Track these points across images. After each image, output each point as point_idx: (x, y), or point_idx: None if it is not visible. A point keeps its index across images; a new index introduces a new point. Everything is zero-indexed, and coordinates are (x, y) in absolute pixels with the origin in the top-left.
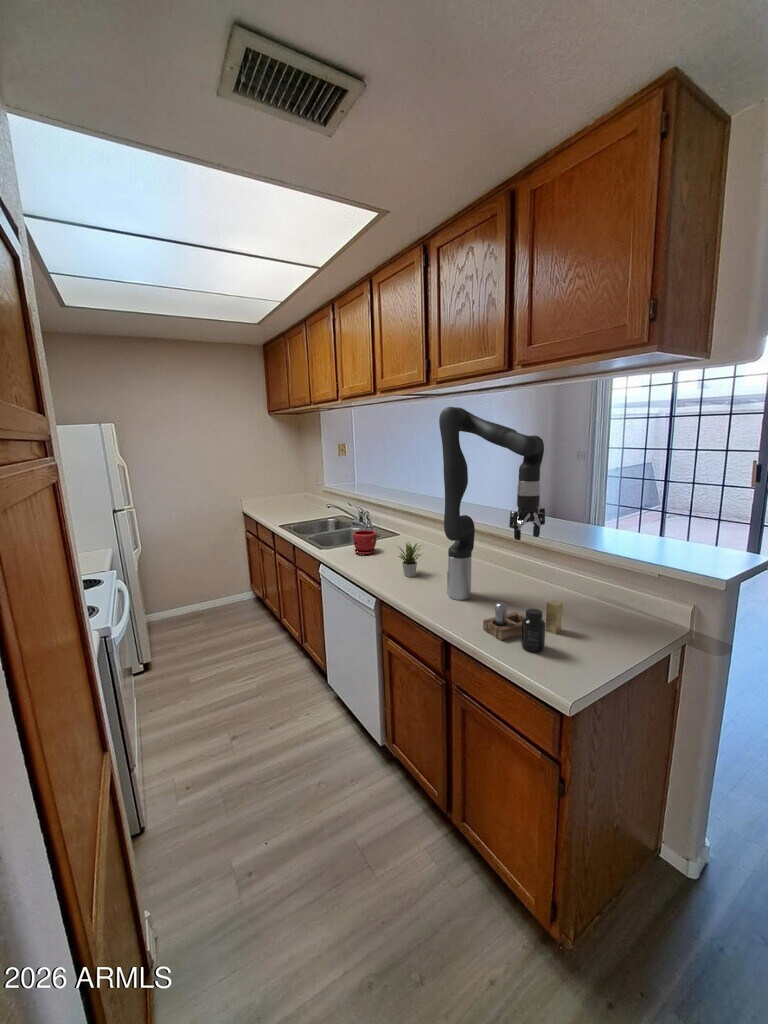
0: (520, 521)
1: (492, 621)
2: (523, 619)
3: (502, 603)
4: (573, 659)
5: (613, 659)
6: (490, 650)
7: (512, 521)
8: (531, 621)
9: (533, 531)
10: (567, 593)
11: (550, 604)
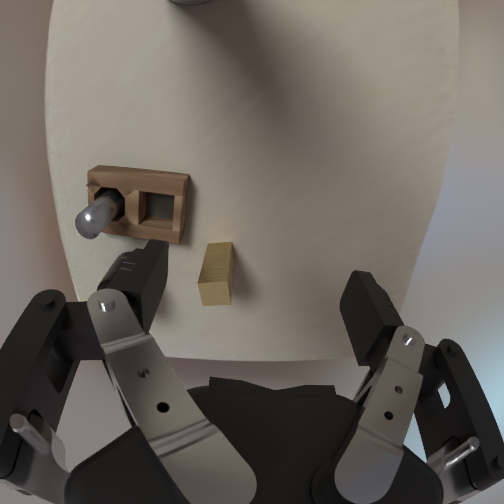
0: (124, 408)
1: (98, 189)
2: (100, 287)
3: (91, 225)
4: (165, 319)
5: (216, 346)
6: (69, 232)
7: (35, 357)
8: None
9: (367, 292)
10: (437, 163)
11: (199, 290)
